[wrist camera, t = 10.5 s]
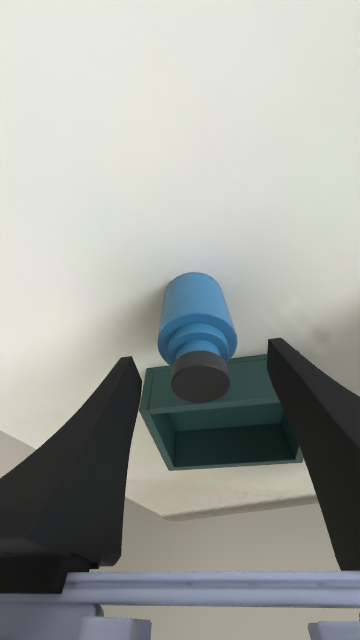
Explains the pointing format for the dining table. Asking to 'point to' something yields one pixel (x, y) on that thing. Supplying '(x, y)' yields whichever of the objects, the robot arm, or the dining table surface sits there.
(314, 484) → the robot arm
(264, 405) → the bin
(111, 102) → the dining table surface
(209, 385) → the bottle
